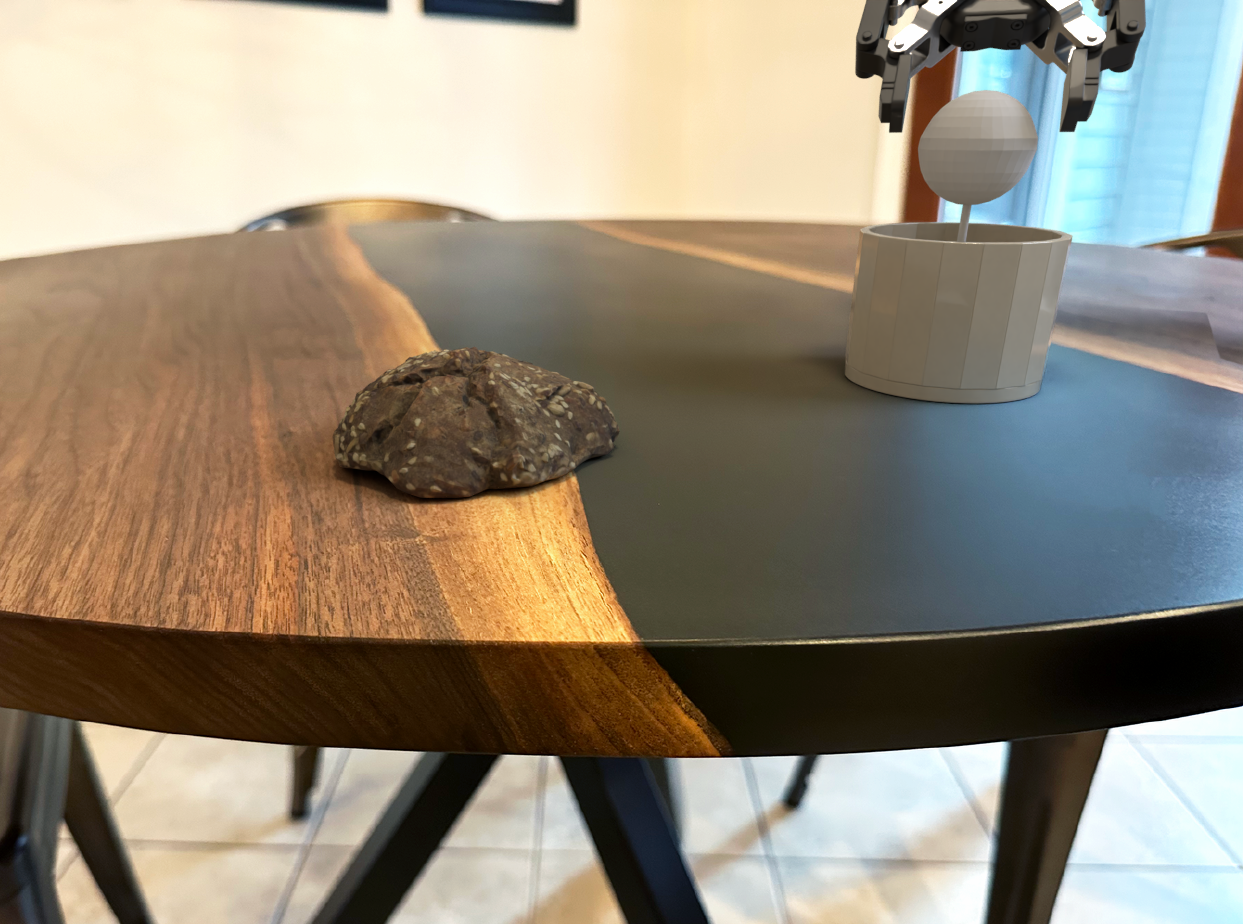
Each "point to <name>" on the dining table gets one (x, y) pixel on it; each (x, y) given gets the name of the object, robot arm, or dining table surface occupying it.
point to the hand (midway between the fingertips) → (981, 120)
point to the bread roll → (472, 424)
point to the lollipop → (977, 149)
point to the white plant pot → (954, 310)
